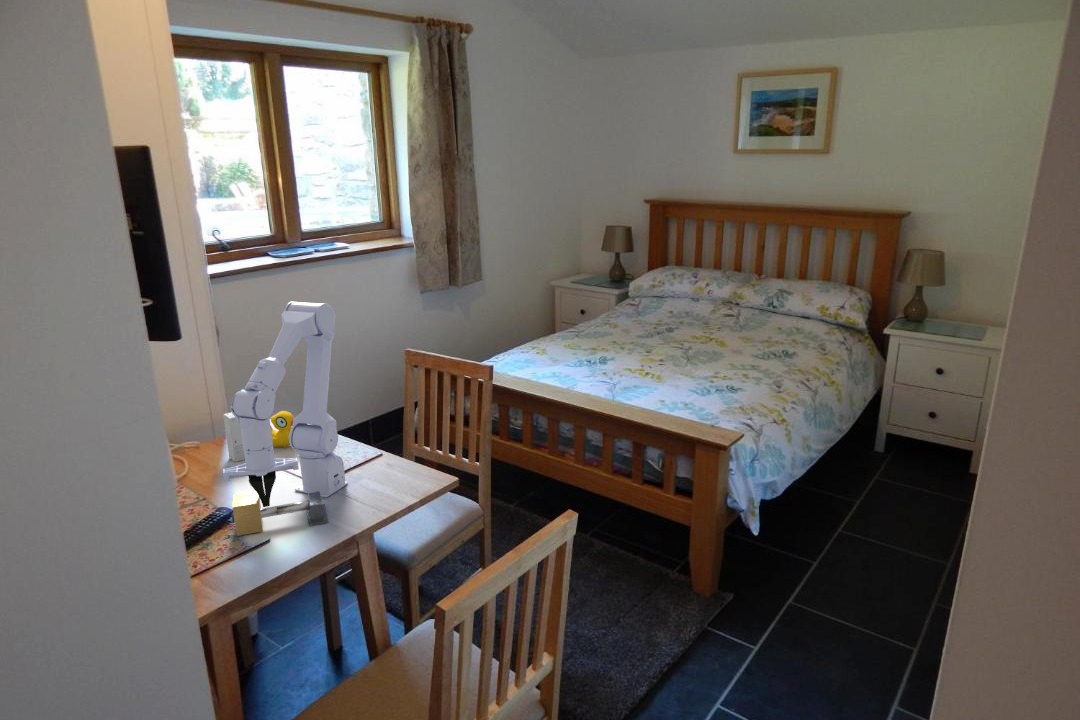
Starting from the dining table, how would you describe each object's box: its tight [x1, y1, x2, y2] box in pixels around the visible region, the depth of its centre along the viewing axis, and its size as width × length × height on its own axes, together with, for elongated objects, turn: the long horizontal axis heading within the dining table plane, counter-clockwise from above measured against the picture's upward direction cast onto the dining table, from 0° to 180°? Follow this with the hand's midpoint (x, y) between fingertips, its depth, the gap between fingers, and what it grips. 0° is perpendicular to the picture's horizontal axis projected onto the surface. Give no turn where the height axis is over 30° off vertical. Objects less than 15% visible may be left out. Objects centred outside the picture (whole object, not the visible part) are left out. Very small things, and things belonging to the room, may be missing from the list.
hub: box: [232, 490, 264, 537], centre depth 150 cm, size 5×6×7 cm
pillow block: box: [306, 491, 329, 527], centre depth 155 cm, size 4×8×4 cm, turn 21°
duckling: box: [270, 410, 295, 449], centre depth 190 cm, size 11×5×10 cm, turn 85°
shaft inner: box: [276, 498, 323, 516], centre depth 153 cm, size 9×2×2 cm, turn 111°
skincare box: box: [222, 412, 245, 463], centre depth 184 cm, size 6×4×12 cm
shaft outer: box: [231, 505, 279, 524], centre depth 150 cm, size 9×2×2 cm, turn 111°
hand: (266, 504), depth 151 cm, fingers closed
